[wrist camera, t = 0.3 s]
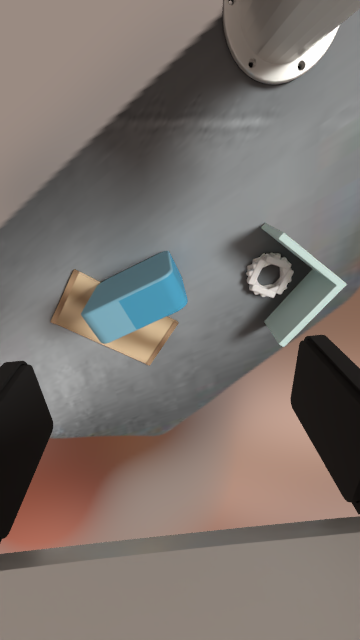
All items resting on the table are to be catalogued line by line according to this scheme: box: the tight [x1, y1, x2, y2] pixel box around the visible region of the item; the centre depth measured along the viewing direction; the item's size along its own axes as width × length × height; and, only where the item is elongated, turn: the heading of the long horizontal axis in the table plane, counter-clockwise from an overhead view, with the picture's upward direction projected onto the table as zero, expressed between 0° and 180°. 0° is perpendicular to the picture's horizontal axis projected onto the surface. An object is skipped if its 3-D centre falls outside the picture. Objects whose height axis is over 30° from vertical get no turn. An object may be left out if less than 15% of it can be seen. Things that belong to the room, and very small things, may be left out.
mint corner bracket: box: [246, 223, 347, 347], centre depth 41 cm, size 12×12×8 cm
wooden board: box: [51, 269, 178, 366], centre depth 46 cm, size 10×18×1 cm, turn 59°
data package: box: [81, 251, 188, 344], centre depth 37 cm, size 12×4×12 cm, turn 115°
